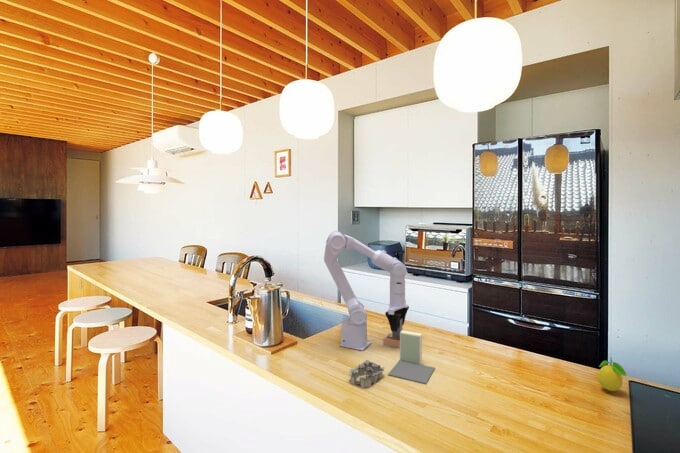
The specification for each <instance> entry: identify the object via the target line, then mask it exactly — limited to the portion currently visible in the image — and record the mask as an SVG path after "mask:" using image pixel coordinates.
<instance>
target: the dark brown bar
mask: <svg viewBox="0 0 680 453" xmlns="http://www.w3.org/2000/svg"><path fill="white" fill-rule="evenodd" d="M402 330H403V325H402V318H399V322H398V329H397V332H394V331H391V333H392V334H390V335H389V336H388V338H389V339H395V340H400V332H401V331H402Z"/></svg>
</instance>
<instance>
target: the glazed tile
mask: <svg viewBox="0 0 680 453" xmlns="http://www.w3.org/2000/svg"><path fill="white" fill-rule="evenodd" d="M399 360H401V361H406V362H411V363H415V364H420V365H422V363H423V333H420V332H414V331H410V330H409V331H408V330H403V329H402V331H401V332H400V348H399Z"/></svg>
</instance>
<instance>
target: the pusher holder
mask: <svg viewBox="0 0 680 453" xmlns="http://www.w3.org/2000/svg"><path fill="white" fill-rule="evenodd" d="M390 334H392V332H388V333H387V334H386V335H385V336H384V337H383V338H382V342H383V343H382V345H384V346H387V347H392V348H398V349H400V340H395V339H389V338H388V336H389V335H390Z"/></svg>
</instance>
